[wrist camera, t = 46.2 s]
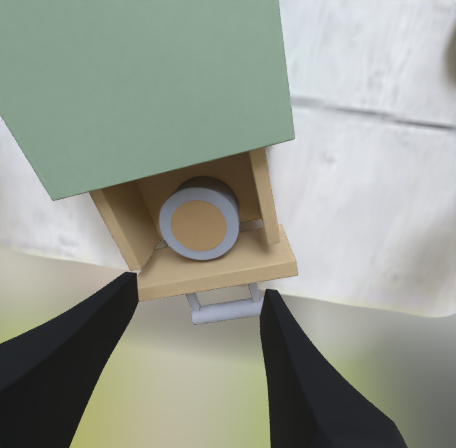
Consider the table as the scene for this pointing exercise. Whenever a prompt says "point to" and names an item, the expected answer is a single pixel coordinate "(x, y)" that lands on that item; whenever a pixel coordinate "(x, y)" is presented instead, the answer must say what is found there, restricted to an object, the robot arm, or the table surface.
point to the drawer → (190, 268)
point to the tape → (200, 218)
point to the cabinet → (139, 86)
